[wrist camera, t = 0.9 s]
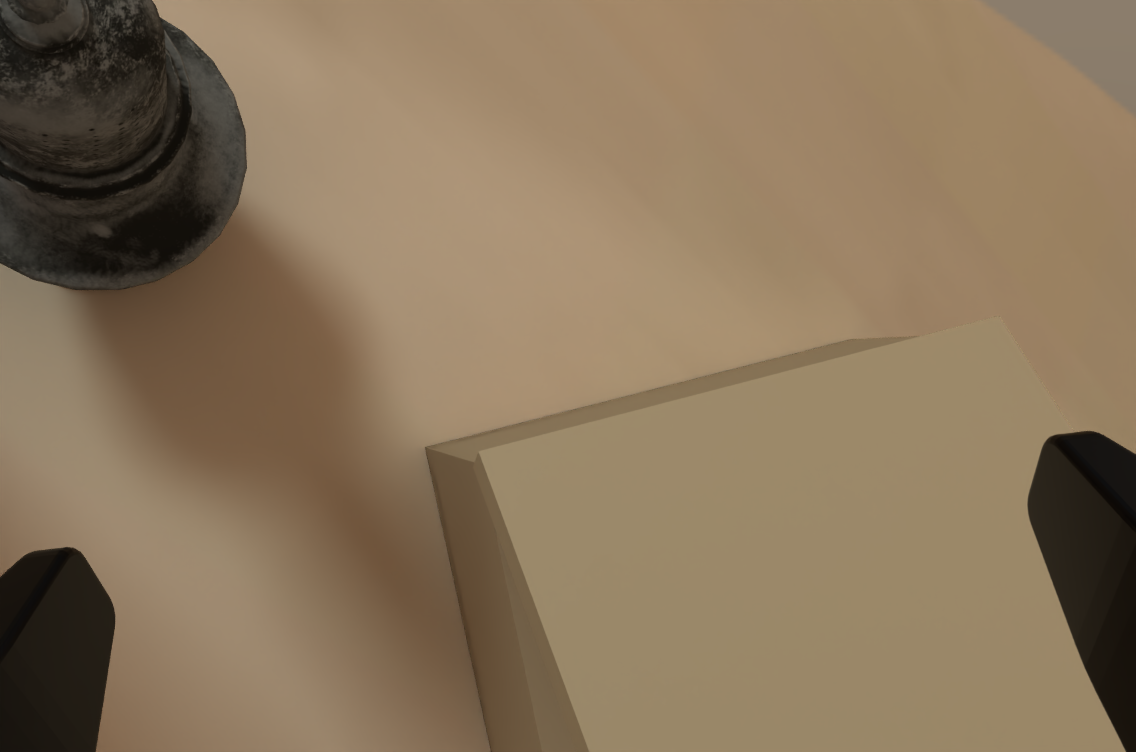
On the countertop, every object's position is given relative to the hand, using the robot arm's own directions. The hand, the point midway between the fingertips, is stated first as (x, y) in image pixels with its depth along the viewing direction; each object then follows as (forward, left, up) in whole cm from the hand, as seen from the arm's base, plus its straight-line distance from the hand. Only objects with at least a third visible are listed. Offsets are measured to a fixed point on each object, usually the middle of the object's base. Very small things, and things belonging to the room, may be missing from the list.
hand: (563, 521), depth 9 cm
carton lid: (-6, -9, -9) cm, 14 cm away
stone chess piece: (+7, +4, -17) cm, 18 cm away
